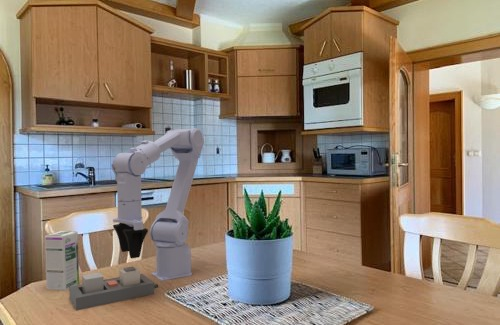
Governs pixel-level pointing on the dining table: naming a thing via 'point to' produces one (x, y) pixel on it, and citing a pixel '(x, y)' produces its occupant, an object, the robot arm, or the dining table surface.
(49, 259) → the syrup box
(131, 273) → the plug
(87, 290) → the strip
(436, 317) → the dining table surface
